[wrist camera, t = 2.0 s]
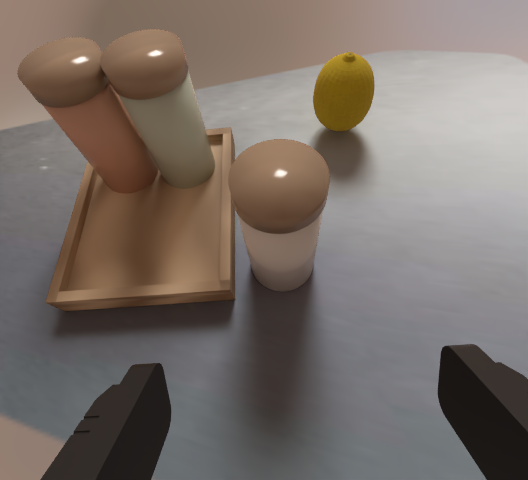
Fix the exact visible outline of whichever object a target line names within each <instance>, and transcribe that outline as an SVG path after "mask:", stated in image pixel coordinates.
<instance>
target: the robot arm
mask: <svg viewBox="0 0 528 480" xmlns="http://www.w3.org/2000/svg"><path fill="white" fill-rule="evenodd" d="M438 398H439V403H440V406H441V409H442V411H443V413H444V415H445V417H446V418H447V420H448V421H449V423H450V424H451V426H452V428H453V429H454V431H455V432H456V434H457V435H458V437H459V438H460V440H461V441H462V443H463V444H464V446H465V447H466V449H467V450H468V452H469V453H470V455H471V456H472V458H473V459H474V461H475V462H476V464H477V465H478V467H479V468H480V470H481V472H482V473H483V475H484V476H485V478H486V479H487V480H528V379H527V378H526V377H525V376H523V375H522V374H520V373H518V372H516V371H515V370H513V369H511V368H509V367H508V366H506V365H504V364H502V363H500V362H497V363H495V362H494V361H493V360H492V359H491V358H490V357H489V356H488V355H487V354H485V353H484V352H483V351H482V350H481V349H480V348H479V347H478V346H476V345H474V344H467V345H451V346H444V347H443V348H442V351H441V359H440V370H439V382H438ZM170 422H171V404H170V399H169V394H168V390H167V385H166V380H165V375H164V370H163V367H162V365H161V364H160V363H152V364H136V365H132V366H131V367H130V369H129V370H128V372H127V374H126V375H125V377H124V378H123V380H122V381H121V383H120V384H119V385H112V386H111V387H110V388H109V389H107V390H106V391H105V392H104V393H103V394H102V395H100V396H99V397H98V398H97V399H96V400H95V401H94V403H93V404H92V406H91V407H90V409H89V410H88V412H87V413H86V414H85V416H84V420H81V422H80V423H79V425H78V426H77V427H76V429H75V430H74V434H73V435H71V436H70V438H69V439H68V441H67V442H66V443H65V445H64V446H63V448H62V449H61V451H60V452H59V454H58V455H57V457H56V458H55V460H54V461H53V462H52V464H51V465H50V467H49V468H48V469H47V471H46V472H45V474H44V475H43V477H42V478H41V480H151V478H152V476H153V473H154V470H155V467H156V464H157V462H158V459H159V456H160V453H161V450H162V447H163V445H164V442H165V439H166V436H167V433H168V430H169V427H170Z"/></svg>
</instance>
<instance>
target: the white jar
mask: <svg viewBox="0 0 528 480" xmlns="http://www.w3.org/2000/svg"><path fill="white" fill-rule="evenodd" d="M329 183H330V173H329V169H328V166H327V163H326V162H325V160H324V159H323V157H322V156H321V155H320V154H319V153H318V152H317V151H316V150H315V149H313V148H311V147H310V146H308V145H306V144H304V143H301V142H298V141H294V140H288V139H274V140H268V141H263V142H260V143H257V144H255V145H253V146H251V147H249V148H248V149H246V150H245V151H243V152H242V153H241V154H240V155H239V156H238V157H237V158H236V160H235V161H234V163H233V164H232V166H231V168H230V171H229V175H228V186H229V190H230V193H231V197H232V201H233V205H234V208H235V210H236V212H237V214H238V217H239V221H240V225H241V228H242V232H243V236H244V240H245V244H246V248H247V252H248V255H249V259H250V263H251V267H252V271H253V273H254V276H255V277H256V279H257V280H258V281H259V282H260V283H261V284H262V285H263V286H265V287H267V288H268V289H271V290H274V291H290V290H294V289H296V288H298V287H300V286H301V285H303V284H304V283H305V282H306V281H307V280H308V278H309V277H310V275H311V273H312V270H313V265H314V259H315V253H316V247H317V241H318V236H319V230H320V224H321V218H322V212H323V209H324V207H325V204H326V200H327V194H328V189H329Z"/></svg>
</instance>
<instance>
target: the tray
mask: <svg viewBox="0 0 528 480" xmlns="http://www.w3.org/2000/svg"><path fill="white" fill-rule="evenodd" d="M206 132H207V136H208V139H209V142H210V146H211V149H212V152H213V156H214V159H215V169H214V172H213V174H212V175H211V177H210V178H209V179H208V180H207V181H205V182H204V183H202V184H201V185H198V186H196V187H193V188H187V189H181V188H175V187H173V186H171V185H169V184H168V183H167V182H166V181H165V180H164V178H163V177H162V175H161V173H160V171H159V170H158V174H157V176H156V178H155V179H154V180H153V182H152V183H151V184H149V185H148V186H147V187H145V188H144V189H142V190H140V191H137V192H133V193H126V194H124V193H118V192H115V191H113V190H111V189H110V188H109V187H108V186H107V184H106V183H105V182H104V181H103V179H102V178H101V177H100V176H99V174H98V173H97V172H96V171H95V169H94V168H93V167H92V166H91V164H90V163H89V162H87V165H86V168H85V172H84V175H83V178H82V182H81V185H80V188H79V192H78V195H77V199H76V202H75V205H74V209H73V212H72V215H71V219H70V222H69V225H68V229H67V232H66V235H65V239H64V242H63V245H62V249H61V252H60V255H59V259H58V262H57V265H56V269H55V272H54V276H53V279H52V282H51V286H50V289H49V292H48V296H47V299H46V302H45V303H47V304H50V305H52V306H54V307H56V308H59V309H61V310H63V311H74V310H89V309H104V308H118V307H133V306H147V305H162V304H177V303H191V302H206V301H221V300H235V208H234V205H233V201H232V197H231V193H230V190H229V186H228V175H229V171H230V168H231V166H232V164H233V163H234V161H235V144H234V139H233V135H232V130H231V127H230V128H219V129H208V130H206Z"/></svg>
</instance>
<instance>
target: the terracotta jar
mask: <svg viewBox="0 0 528 480" xmlns="http://www.w3.org/2000/svg"><path fill="white" fill-rule="evenodd" d="M101 55H102V52H101V50H100V49H99V47H98V45H97V44H96V43H95V42H94V41H92V40H89V39H86V38H79V37H72V38H64V39H59V40H56V41H52V42H50V43H47V44H45V45H43V46H41V47H39V48H37V49H35V50H34V51H32V52H31V53H30V54H29V55H27V56H26V57H25V58H24V59H23V61H22V62H21V63H20V65H19V68H18V77H19V79H20V80H21V81H22V83H23V84H24V85H25V86H26V88H27V89H28V90H29V91H30V93H31V94H32V95H33V96H34V98H35V99H36V100H37V101H38V102H39V103H41V104H42V105H43V106H44V107H45V109H46V110H47V111H48V112H49V114H50V115H51V116H52V117H53V119H54V120H55V121H56V122H57V124H58V125H59V126H60V127H61V129H62V130H63V131H64V132H65V134H66V135H67V136H68V137H69V138H70V140H71V141H72V142H73V143H74V145H75V146H76V147H77V148H78V150H79V151H80V152H81V153H82V155H83V156H84V157H85V158H86V160H87V161H88V162H89V163H90V164H91V166H92V167H93V168H94V169H95V171H96V172H97V173H98V174H99V176H100V177H101V178H102V179H103V181H104V182H105V183H106V184H107V186H108V187H109V188H110V189H111V190H113V191H115V192H118V193H124V194H126V193H133V192H137V191H140V190H142V189H144V188H145V187H147V186H148V185H149V184H151V183H152V182H153V180H154V179H155V178H156V176H157V174H158V170H159V169H158V167H157V165H156V164H155V162H154V160H153V158H152V156H151V154H150V153H149V151H148V149H147V147H146V145H145V143H144V142H143V140H142V138H141V136H140V134H139V132H138V130H137V129H136V127H135V125H134V123H133V121H132V119H131V118H130V116H129V114H128V112H127V110H126V108H125V106H124V105H123V103H122V101H121V99H120V97H119V95H118V94H117V93H116V92H115V91H114V89H113V87H112V86H111V84H110V82H109V80H108V78H107V77H106V75H105V73H104V71H103V69H102V67H101V65H100V58H101Z"/></svg>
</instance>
